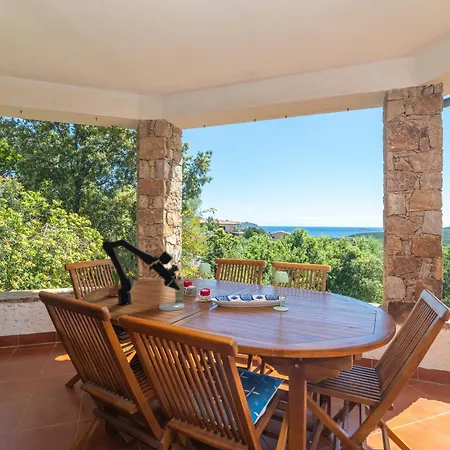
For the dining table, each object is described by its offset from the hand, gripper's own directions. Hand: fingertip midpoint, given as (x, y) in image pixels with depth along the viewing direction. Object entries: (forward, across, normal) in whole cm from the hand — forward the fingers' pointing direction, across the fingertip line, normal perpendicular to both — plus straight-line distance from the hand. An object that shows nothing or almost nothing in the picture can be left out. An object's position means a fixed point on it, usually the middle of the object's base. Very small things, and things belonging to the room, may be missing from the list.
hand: (180, 288), depth 201 cm
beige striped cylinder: (+6, 0, +6) cm, 9 cm away
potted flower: (-26, +24, +38) cm, 52 cm away
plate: (+3, -12, +9) cm, 15 cm away
